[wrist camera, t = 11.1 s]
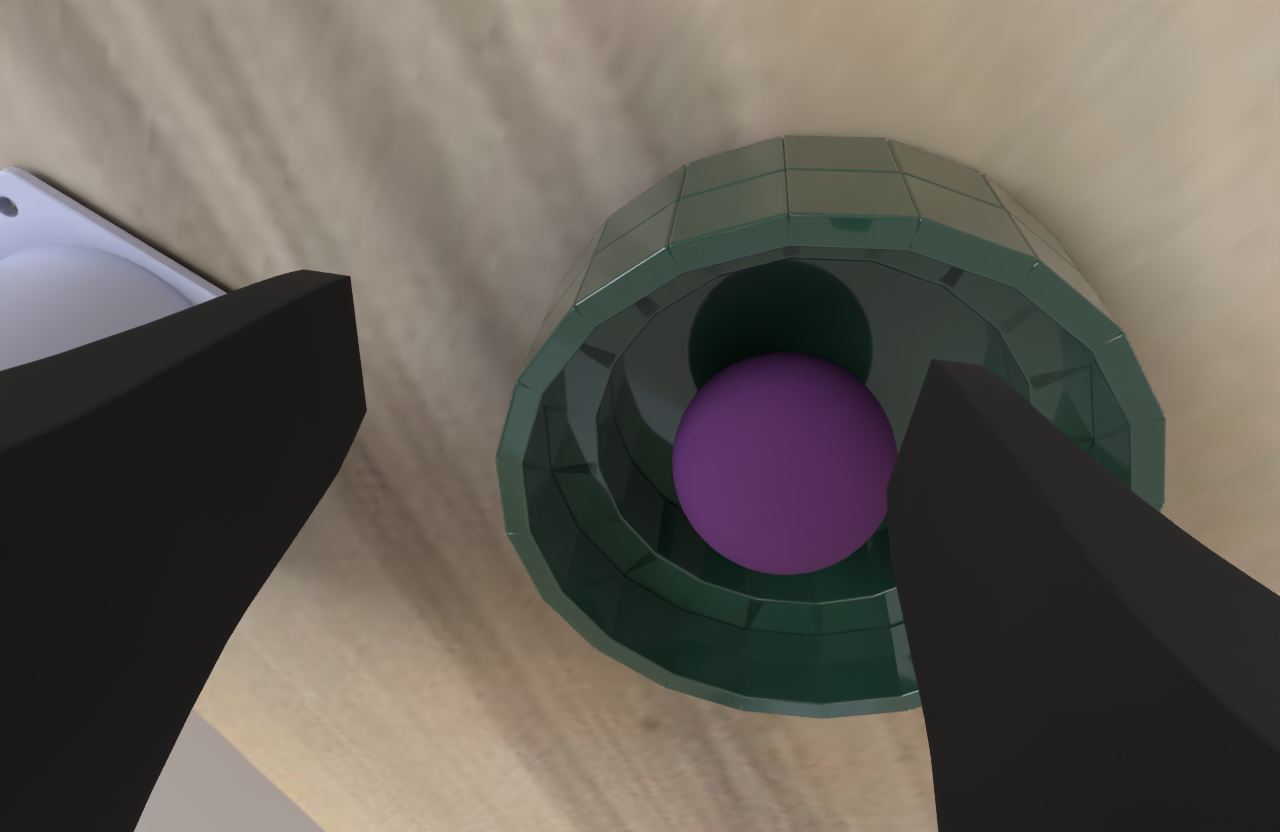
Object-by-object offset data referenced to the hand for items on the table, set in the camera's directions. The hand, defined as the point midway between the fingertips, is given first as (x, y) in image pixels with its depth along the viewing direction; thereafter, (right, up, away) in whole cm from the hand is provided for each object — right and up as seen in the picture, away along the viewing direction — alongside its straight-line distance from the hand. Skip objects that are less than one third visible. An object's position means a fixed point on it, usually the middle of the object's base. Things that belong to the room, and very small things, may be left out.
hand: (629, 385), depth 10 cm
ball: (+3, -1, +8) cm, 9 cm away
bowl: (+4, 0, +11) cm, 12 cm away
